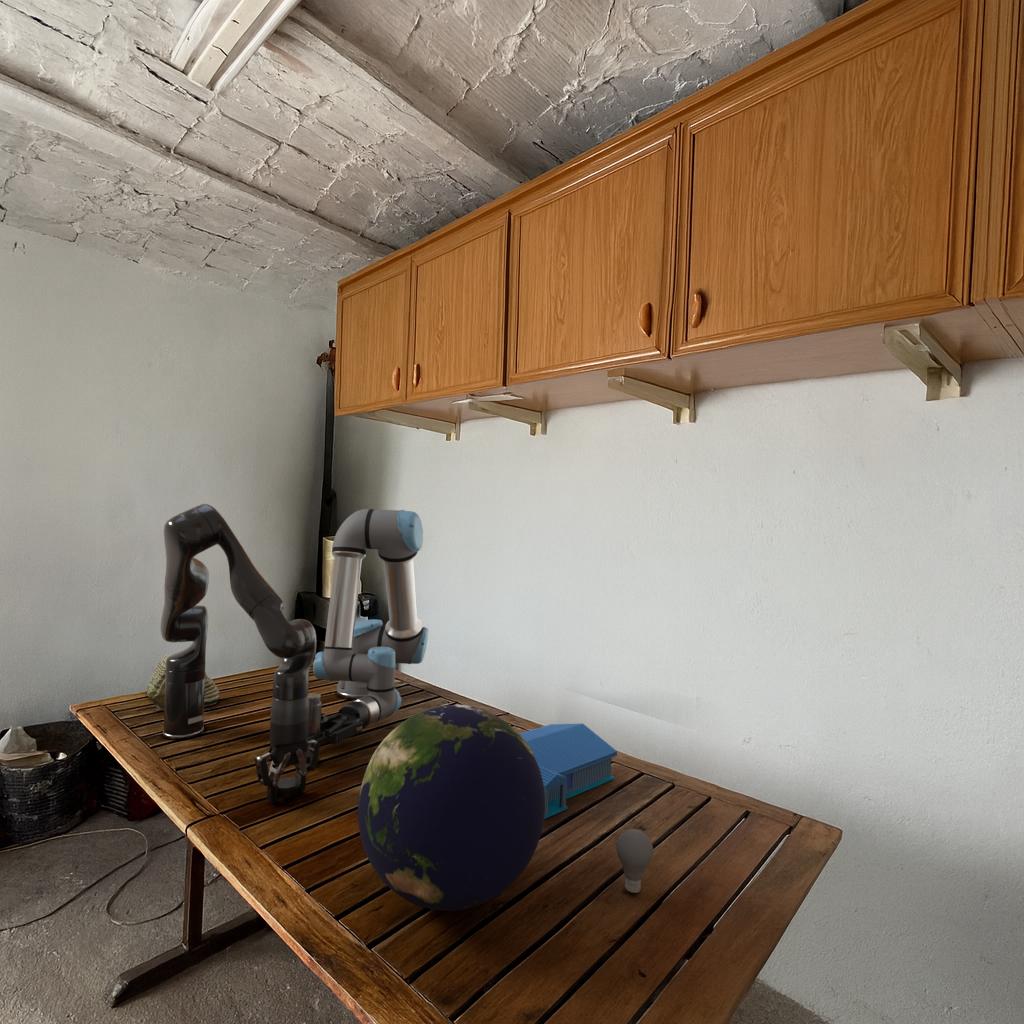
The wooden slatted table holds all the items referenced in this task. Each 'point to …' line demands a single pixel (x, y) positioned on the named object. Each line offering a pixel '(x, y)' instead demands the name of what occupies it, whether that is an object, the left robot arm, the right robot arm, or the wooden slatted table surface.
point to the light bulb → (634, 857)
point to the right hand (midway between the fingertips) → (293, 744)
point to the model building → (569, 761)
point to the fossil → (158, 687)
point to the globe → (451, 807)
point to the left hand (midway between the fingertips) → (286, 797)
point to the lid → (288, 787)
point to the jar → (314, 717)
